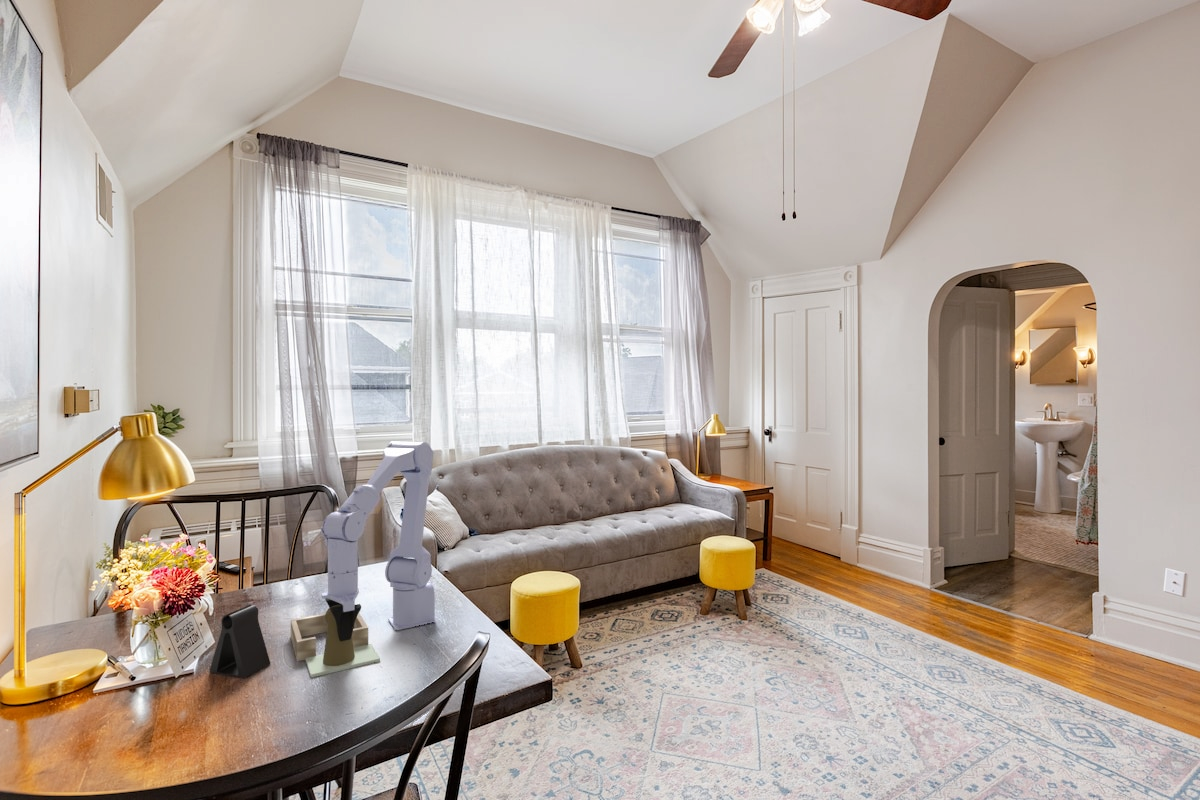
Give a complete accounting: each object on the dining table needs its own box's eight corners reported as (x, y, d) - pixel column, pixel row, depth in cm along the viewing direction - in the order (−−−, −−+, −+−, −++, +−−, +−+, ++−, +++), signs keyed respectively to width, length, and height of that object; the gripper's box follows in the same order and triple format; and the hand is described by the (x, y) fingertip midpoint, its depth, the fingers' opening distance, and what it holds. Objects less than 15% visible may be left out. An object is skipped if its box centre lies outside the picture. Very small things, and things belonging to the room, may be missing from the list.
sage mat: (371, 646, 128) (371, 643, 128) (380, 661, 121) (380, 658, 121) (305, 660, 121) (305, 658, 121) (310, 677, 114) (310, 674, 114)
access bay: (356, 624, 140) (356, 607, 140) (368, 645, 128) (368, 627, 128) (290, 637, 132) (290, 620, 132) (297, 661, 120) (297, 642, 120)
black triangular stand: (270, 665, 119) (270, 606, 119) (245, 678, 113) (245, 617, 113) (235, 659, 121) (235, 602, 121) (209, 673, 115) (209, 613, 115)
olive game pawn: (342, 667, 116) (342, 612, 116) (316, 664, 118) (316, 610, 118) (360, 654, 122) (360, 602, 122) (335, 651, 124) (335, 600, 124)
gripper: (316, 564, 124) (316, 627, 124) (327, 582, 112) (327, 652, 112) (352, 559, 128) (352, 620, 128) (365, 576, 116) (365, 644, 116)
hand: (342, 635), depth 120 cm, fingers closed on olive game pawn, 5 cm apart
